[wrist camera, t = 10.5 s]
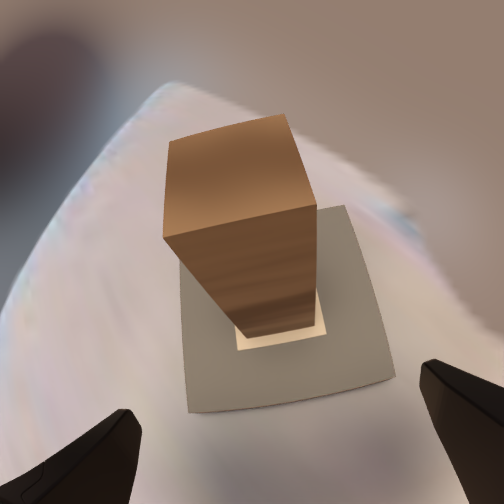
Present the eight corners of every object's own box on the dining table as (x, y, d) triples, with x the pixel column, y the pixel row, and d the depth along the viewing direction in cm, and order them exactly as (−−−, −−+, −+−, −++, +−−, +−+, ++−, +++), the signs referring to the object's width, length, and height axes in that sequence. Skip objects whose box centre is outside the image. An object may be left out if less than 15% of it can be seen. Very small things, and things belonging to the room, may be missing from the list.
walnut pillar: (314, 325, 20) (316, 204, 8) (246, 338, 20) (162, 237, 9) (301, 265, 22) (284, 113, 11) (239, 278, 22) (169, 141, 11)
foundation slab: (388, 379, 19) (396, 376, 17) (198, 413, 20) (187, 413, 18) (342, 218, 26) (344, 203, 24) (187, 250, 27) (178, 238, 25)
